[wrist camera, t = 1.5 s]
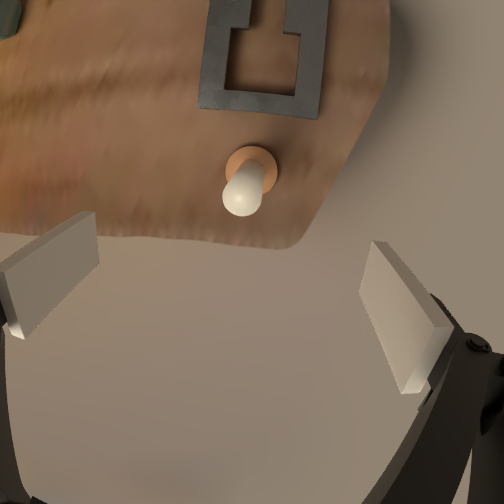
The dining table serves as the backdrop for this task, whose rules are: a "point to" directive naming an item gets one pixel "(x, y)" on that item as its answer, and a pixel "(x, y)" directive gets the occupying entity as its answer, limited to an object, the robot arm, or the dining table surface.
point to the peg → (248, 179)
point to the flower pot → (9, 17)
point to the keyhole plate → (296, 23)
